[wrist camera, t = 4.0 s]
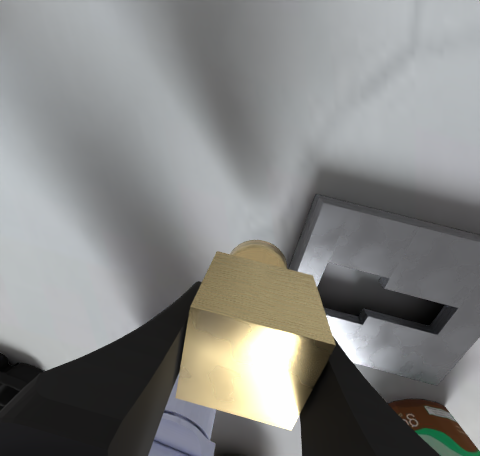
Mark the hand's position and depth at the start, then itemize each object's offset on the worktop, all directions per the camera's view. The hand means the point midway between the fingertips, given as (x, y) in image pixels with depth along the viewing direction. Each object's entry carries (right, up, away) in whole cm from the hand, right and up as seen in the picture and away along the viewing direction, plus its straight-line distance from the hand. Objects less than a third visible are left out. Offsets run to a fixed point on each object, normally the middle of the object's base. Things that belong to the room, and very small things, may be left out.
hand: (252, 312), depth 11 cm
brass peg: (+1, +2, +4) cm, 4 cm away
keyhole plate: (+12, -1, +10) cm, 16 cm away
